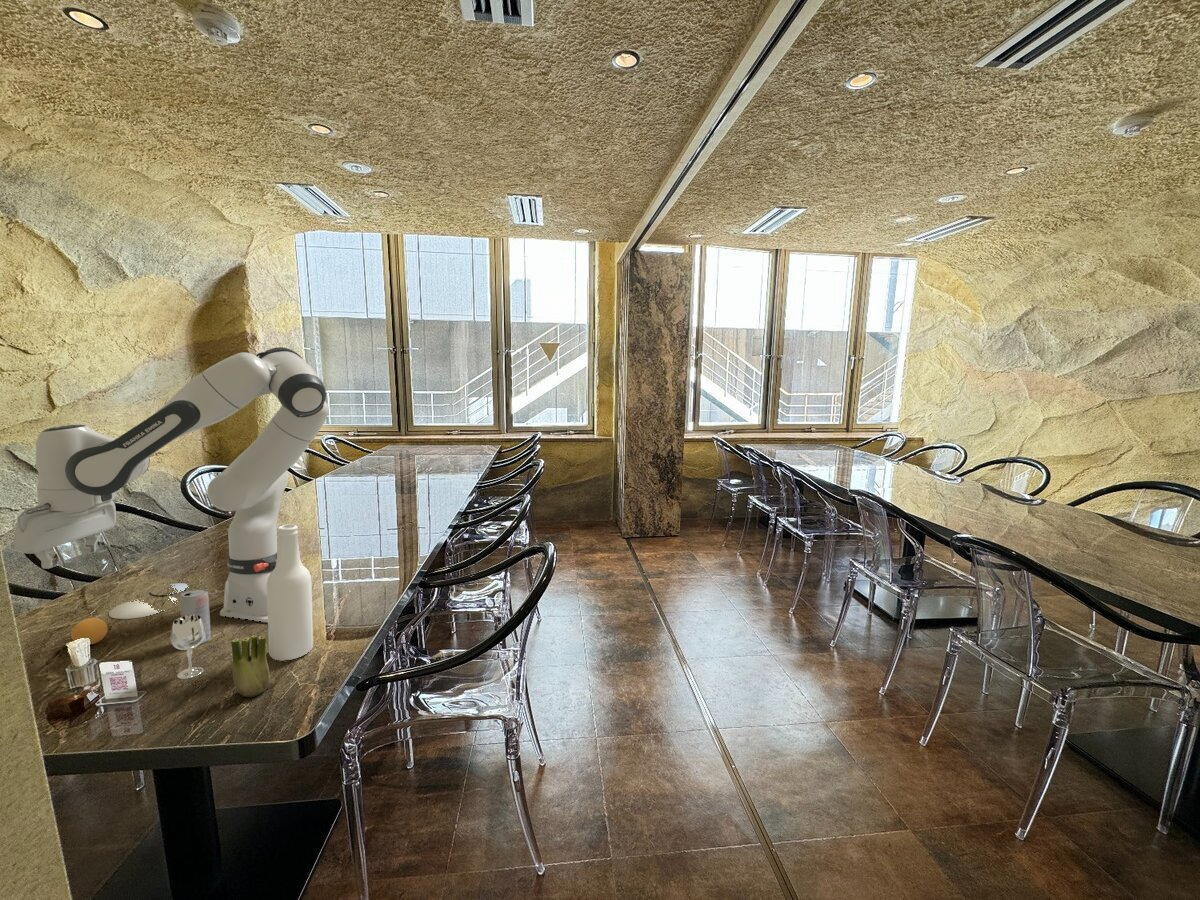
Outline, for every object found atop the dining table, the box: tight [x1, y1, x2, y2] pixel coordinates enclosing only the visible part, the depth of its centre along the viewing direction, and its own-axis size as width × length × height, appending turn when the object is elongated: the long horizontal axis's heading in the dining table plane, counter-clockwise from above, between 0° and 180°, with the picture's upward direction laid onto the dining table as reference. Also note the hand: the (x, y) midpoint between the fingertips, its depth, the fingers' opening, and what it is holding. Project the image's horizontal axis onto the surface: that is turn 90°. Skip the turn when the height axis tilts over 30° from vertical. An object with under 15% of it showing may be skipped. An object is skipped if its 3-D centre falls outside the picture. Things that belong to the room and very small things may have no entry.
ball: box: [70, 617, 108, 645], centre depth 122 cm, size 6×6×6 cm
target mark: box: [108, 595, 178, 620], centre depth 141 cm, size 14×14×1 cm
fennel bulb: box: [230, 634, 271, 698], centre depth 106 cm, size 6×5×12 cm
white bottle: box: [266, 524, 314, 662], centre depth 120 cm, size 9×9×30 cm
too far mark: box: [167, 582, 190, 596], centre depth 153 cm, size 9×9×1 cm
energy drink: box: [179, 588, 212, 646], centre depth 125 cm, size 5×5×12 cm
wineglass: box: [170, 615, 205, 680], centre depth 111 cm, size 6×6×12 cm
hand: (70, 560), depth 117 cm, fingers open, 8 cm apart
